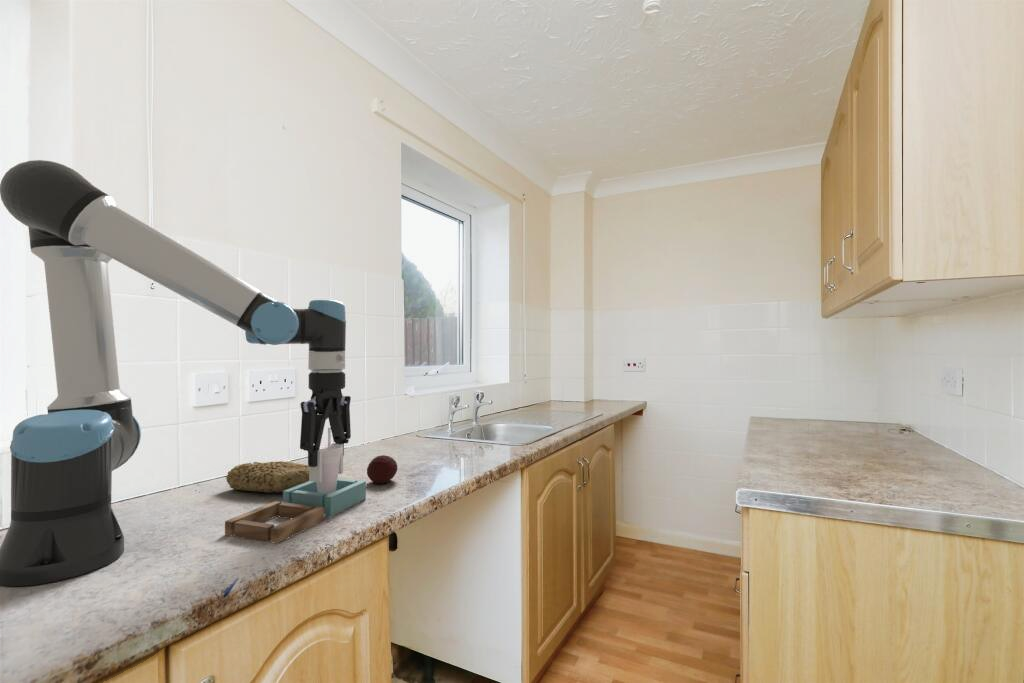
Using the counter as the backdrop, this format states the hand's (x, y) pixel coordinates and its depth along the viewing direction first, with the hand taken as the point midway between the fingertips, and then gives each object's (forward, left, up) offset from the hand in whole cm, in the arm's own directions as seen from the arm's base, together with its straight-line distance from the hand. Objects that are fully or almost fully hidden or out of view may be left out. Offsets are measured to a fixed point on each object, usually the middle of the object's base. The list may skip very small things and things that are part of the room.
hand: (326, 476), depth 106 cm
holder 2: (0, 0, -6) cm, 6 cm away
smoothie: (0, 0, -4) cm, 4 cm away
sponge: (+5, +19, -6) cm, 20 cm away
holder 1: (-14, 0, -6) cm, 15 cm away
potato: (+19, -2, -6) cm, 20 cm away
